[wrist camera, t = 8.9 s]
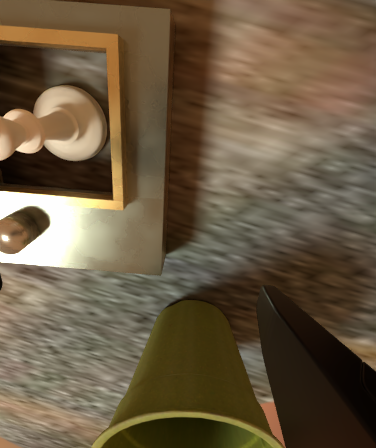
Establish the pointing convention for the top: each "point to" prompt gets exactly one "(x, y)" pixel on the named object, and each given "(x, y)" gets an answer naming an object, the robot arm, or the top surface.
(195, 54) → the top surface
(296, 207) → the top surface
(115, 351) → the top surface
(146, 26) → the grey hollow block
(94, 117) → the chess piece
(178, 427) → the plant pot
